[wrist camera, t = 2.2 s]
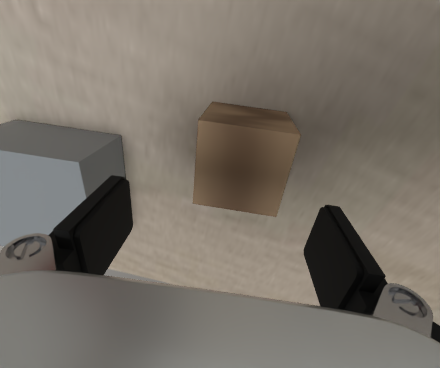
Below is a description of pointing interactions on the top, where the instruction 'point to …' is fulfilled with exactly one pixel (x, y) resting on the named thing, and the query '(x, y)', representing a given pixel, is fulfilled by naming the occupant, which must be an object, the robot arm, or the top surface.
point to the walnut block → (243, 158)
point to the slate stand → (50, 173)
